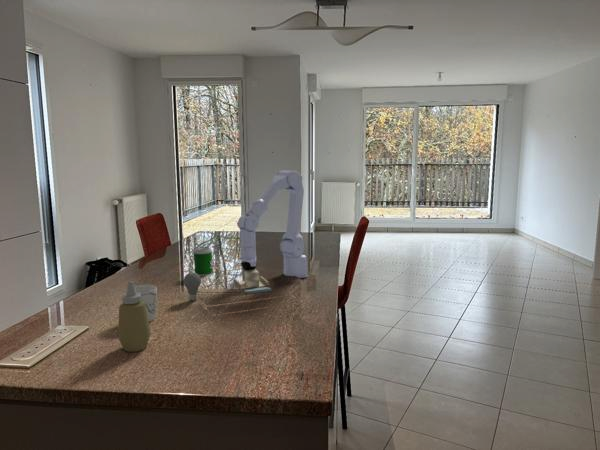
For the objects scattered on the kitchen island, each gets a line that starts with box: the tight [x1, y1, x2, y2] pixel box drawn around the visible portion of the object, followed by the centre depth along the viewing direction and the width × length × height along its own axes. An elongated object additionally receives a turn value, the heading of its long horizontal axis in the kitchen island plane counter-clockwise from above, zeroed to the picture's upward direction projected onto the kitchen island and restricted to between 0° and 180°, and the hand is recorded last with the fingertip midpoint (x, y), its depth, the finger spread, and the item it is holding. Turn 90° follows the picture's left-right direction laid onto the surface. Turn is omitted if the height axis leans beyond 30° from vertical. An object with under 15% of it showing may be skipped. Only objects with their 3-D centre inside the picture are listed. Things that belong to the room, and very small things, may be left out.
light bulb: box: [182, 271, 202, 302], centre depth 155 cm, size 6×6×10 cm
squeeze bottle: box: [117, 280, 151, 353], centre depth 116 cm, size 8×8×18 cm
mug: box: [134, 284, 158, 323], centre depth 136 cm, size 11×8×10 cm
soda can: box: [193, 246, 214, 277], centre depth 187 cm, size 8×8×12 cm
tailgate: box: [243, 286, 273, 295], centre depth 163 cm, size 9×1×6 cm
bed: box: [232, 275, 270, 290], centre depth 171 cm, size 12×10×2 cm
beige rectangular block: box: [243, 268, 260, 289], centre depth 168 cm, size 4×4×6 cm
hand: (249, 280), depth 173 cm, fingers closed
